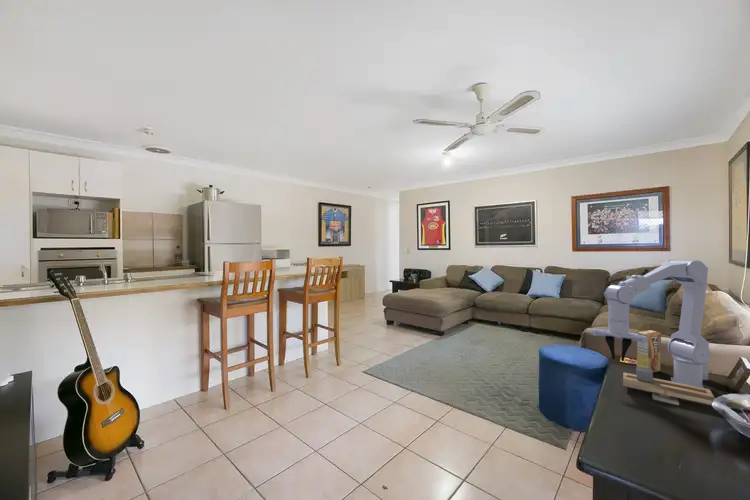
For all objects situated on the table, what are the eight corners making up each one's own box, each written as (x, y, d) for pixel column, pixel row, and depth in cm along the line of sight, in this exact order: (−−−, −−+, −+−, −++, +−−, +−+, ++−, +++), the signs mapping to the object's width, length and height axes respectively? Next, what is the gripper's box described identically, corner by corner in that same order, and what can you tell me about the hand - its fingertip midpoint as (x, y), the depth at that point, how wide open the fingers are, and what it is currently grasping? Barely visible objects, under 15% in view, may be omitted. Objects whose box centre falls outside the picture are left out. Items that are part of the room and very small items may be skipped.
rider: (636, 378, 109) (636, 366, 109) (651, 381, 106) (652, 369, 106) (636, 382, 105) (636, 370, 105) (652, 386, 102) (652, 373, 102)
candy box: (647, 367, 129) (648, 329, 129) (660, 371, 125) (661, 332, 125) (636, 370, 125) (636, 331, 125) (649, 374, 122) (649, 334, 122)
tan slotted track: (623, 383, 113) (623, 371, 113) (708, 402, 99) (708, 388, 99) (622, 392, 106) (623, 379, 106) (714, 413, 92) (714, 398, 92)
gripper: (592, 318, 111) (591, 357, 111) (646, 325, 102) (646, 367, 102) (593, 315, 117) (593, 352, 117) (645, 321, 108) (645, 361, 108)
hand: (618, 359), depth 110 cm, fingers closed
